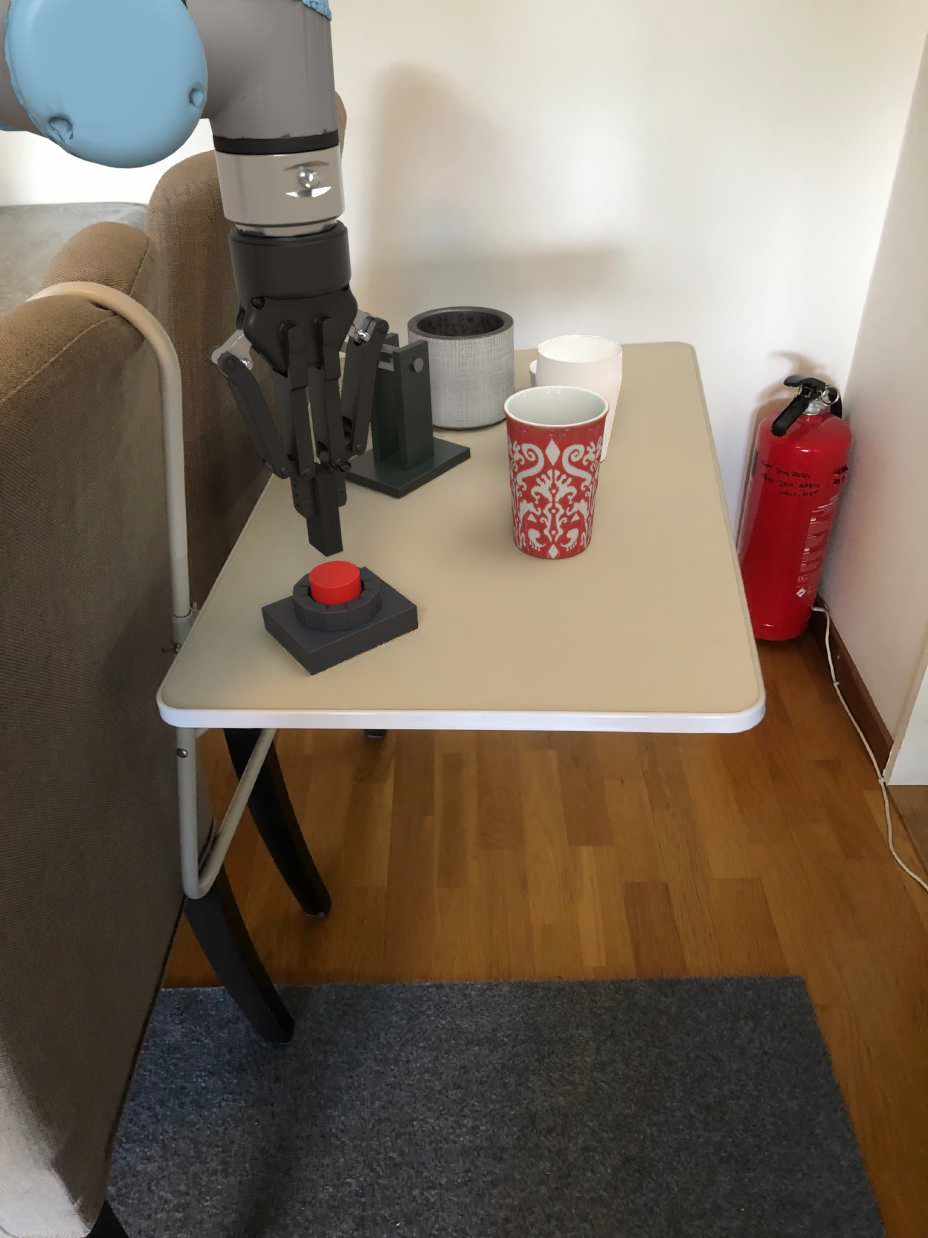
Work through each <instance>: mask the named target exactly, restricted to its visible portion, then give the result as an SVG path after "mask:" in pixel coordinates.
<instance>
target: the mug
mask: <svg viewBox="0 0 928 1238" xmlns="http://www.w3.org/2000/svg"><path fill="white" fill-rule="evenodd" d="M503 408H504V413H505V415H506V418H505V422H506V423H505V424H506V438H507V439H506V440H507V456H508V471H509V487H510V502H511V516H512V537H513V542H514V544H515V545H516V547H517V548H518V549H519V550H520V551H522V552H523V553H525V554H527V555H529V556H533V557H536V558H539V559H540V558H541V559H548V560H560V559H561V560H562V559H567V558H571V557H574V556H577V555H579V554H581V553H583V552H584V551H585V550H587V548H588V547H589V546H590V544H591V540H592V534H593V524H594V514H595V506H596V499H597V491H598V486H599V485H598V484H599V474H600V469H601V468H600V467H601V462H600V459H601V453H602V445H603V436H604V428H605V420H606V416H607V414H608V412H609V408H610V407H609V403H608V401H607V400H606V399H605V398H604V397H603V396H602V395H600V394H598V393H596V392H594V391H591V390H588V389H584V388H579V387H573V386H541V387H534V388H532V387H528V388H525V389H522V390H519V391H517V392H515V394H513V395H511V396H510V397H509V398H508V399H507V400H506V401H505V403H504V406H503Z"/></svg>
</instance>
